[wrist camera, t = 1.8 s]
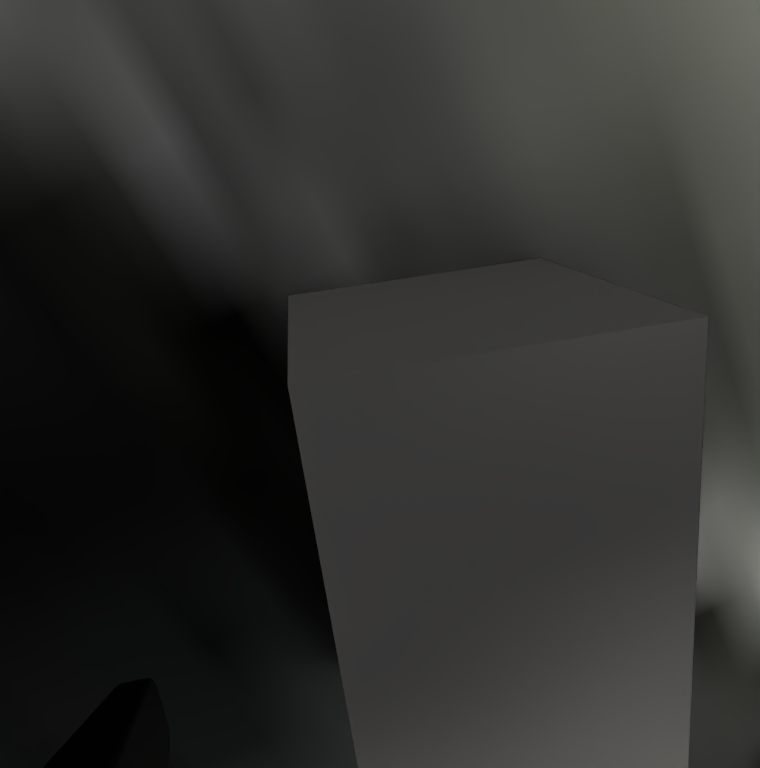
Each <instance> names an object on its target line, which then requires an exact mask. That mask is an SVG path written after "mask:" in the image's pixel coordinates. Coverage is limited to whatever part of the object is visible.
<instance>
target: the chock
mask: <svg viewBox="0 0 760 768" xmlns="http://www.w3.org/2000/svg"><path fill="white" fill-rule="evenodd" d="M707 338H708V316H705V315H703V314H700V313H697V312H694V311H691V310H688V309H685V308H682V307H680V306H677V305H674V304H671V303H668V302H665V301H662V300H659V299H657V298H654V297H651V296H648V295H645V294H642V293H639V292H636V291H633V290H631V289H628V288H625V287H622V286H619V285H616V284H613V283H610V282H608V281H605V280H602V279H599V278H596V277H593V276H590V275H587V274H585V273H582V272H579V271H576V270H573V269H570V268H567V267H564V266H562V265H559V264H556V263H553V262H550V261H547V260H544V259H541V258H536V259H530V260H523V261H516V262H510V263H503V264H496V265H490V266H483V267H476V268H470V269H463V270H456V271H449V272H443V273H436V274H429V275H423V276H416V277H409V278H403V279H396V280H389V281H383V282H376V283H369V284H363V285H356V286H349V287H343V288H336V289H329V290H323V291H316V292H309V293H303V294H296V295H289V296H288V390H289V395H290V400H291V406H292V411H293V417H294V422H295V428H296V433H297V439H298V444H299V449H300V455H301V460H302V466H303V471H304V477H305V482H306V487H307V493H308V498H309V504H310V509H311V515H312V520H313V525H314V531H315V536H316V542H317V547H318V553H319V558H320V564H321V569H322V574H323V580H324V585H325V591H326V596H327V602H328V607H329V612H330V618H331V623H332V629H333V634H334V640H335V645H336V651H337V656H338V661H339V667H340V672H341V678H342V683H343V689H344V694H345V699H346V705H347V710H348V716H349V721H350V727H351V732H352V738H353V743H354V748H355V754H356V759H357V765H358V768H688V754H689V732H690V710H691V688H692V666H693V645H694V623H695V601H696V579H697V557H698V535H699V513H700V492H701V470H702V448H703V426H704V404H705V382H706V360H707Z"/></svg>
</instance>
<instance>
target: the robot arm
mask: <svg viewBox="0 0 760 768" xmlns="http://www.w3.org/2000/svg"><path fill="white" fill-rule="evenodd" d="M169 753H170V732H169V726H168V722H167V719H166V716H165V712H164V709H163V706H162V702H161V699H160V696H159V692H158V689H157V686H156V684H155V683H154V681H153V680H151V679H149V678H145V679H140V680H135V681H130V682H125V683H122V684H119V685H118V686H117V687H116V688H115V689H114V690H113V691H112V692H111V693H110V694H109V695H108V696H107V697H106V698H105V700H104V701H103V702H102V703H101V704H100V705H99V706H98V707H97V708H96V710H95V711H94V712H93V713H92V714H91V715H90V716H89V717H88V718H87V720H86V721H85V722H84V723H83V724H82V725H81V726H80V727H79V728H78V730H77V731H76V732H75V733H74V734H73V735H72V736H71V737H70V738H69V740H68V741H67V742H66V743H65V744H64V745H63V746H62V747H61V748H60V749H59V751H58V752H57V753H56V754H55V755H54V756H53V757H52V758H51V759H50V761H49V762H48V763H47V764H46V765H45V766H44V767H43V768H168V765H169Z"/></svg>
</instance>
